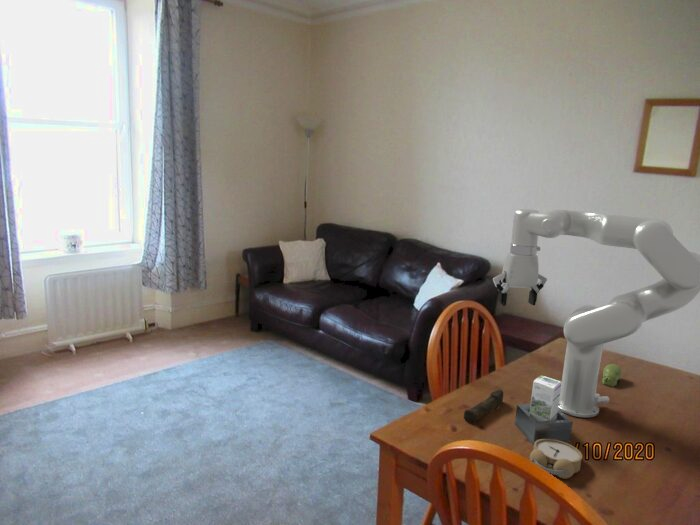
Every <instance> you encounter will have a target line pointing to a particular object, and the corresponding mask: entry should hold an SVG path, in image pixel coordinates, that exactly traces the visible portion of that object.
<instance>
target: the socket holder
mask: <svg viewBox="0 0 700 525" xmlns="http://www.w3.org/2000/svg"><path fill="white" fill-rule="evenodd" d="M530 406H531V403H522V404H516V410H515V411H516V412H515V420H514V425H515V426H516V427H517V429H518V430H520V432H521V433H522V434H523V435H524V436H525V438H526V439H527V440H528V441H529V442H530V443H531V444H532V445H533V446H534V443H535V441H537V440H539V439H555V440H559V441H563V442H565V443H568V444H571V438H572V437H571V436H572V431H573V430H572V429H573V423H574V422H573V421H572V419H570V418H569V417H568V416H567V414H565V413H564V412H562V411H560V410H559V409H558V412H557V420H555V421H537V420H536V419H535V418H534V417H533V416H532V415H531V414H530Z"/></svg>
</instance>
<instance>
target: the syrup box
mask: <svg viewBox="0 0 700 525" xmlns="http://www.w3.org/2000/svg"><path fill="white" fill-rule="evenodd" d="M561 384H562V380H558V379H554V378H551V377H548V376H545V375H542V374H541V375H539V376H537V377H536V378H535V379H534V380H533V381H532V390H531V391H532V392H531V398H530V399H531V400H530V404H531V406H530V414H531V415H532V416H533V417H534V418H535V419H536V420H537V421H555V420H557V412H558V405H559V398H560V391H561Z"/></svg>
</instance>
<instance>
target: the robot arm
mask: <svg viewBox="0 0 700 525" xmlns="http://www.w3.org/2000/svg"><path fill="white" fill-rule="evenodd" d="M561 235H562V236H563V235H564V236H571V237H580V238H585V239H587V240H588V239H589V240H592V241H594V242H596V243H597V244H599V245H602V246H608V247H617V248H627V249H633V250H637V251H638V252H639V253H640V254H641V255H642V257H643V258H644V259H645V260H646V261H647V263H649V264H650V265H651V266H652V268H653V269H654V270H655V271H657V273H658V274H659V275H660V276H661V277H662V279H661V280H659V281H657V282H655V283H652V284H650V285H649V284H648V285H647V286H645V287H643V288H639V289H636V290H633V291H629V292H627V293H622V294H619V295H616V296H615V297H613V298H611V300H610V301H609V302H608V303H607V304H604V305H602V306H600V307H597V306H595V305H591V304H587V305H581V306H579V307H578V308H576V309H575V310H574V311H573V312H572V313H571V314H570V316H569V317H568V318H567V319H566V321H565V323H564V325H563V336H564V338H565V339H566V341H567V342H566V349H565V356H564V362H563V370H562V376H561V377H562V378H561V382H562V384H561V391H560V398H559V405H558V409H559V410H560V411H561V412H562V413H563V414H565V415H569V416H572V417H578V418H585V419H586V418H594V417H596V416H598V415H599V414H600V413H599V412H600V408H599V406H598V405H600V404H608V403H610V398H609V396H606V395H604V396H603V395H602V396H601V394H600V393H597V389H598V388H597V387H598V381H599V372H600V369H601V368H600V367H601V366H600V365H601V360H602V354H603V349H604V344H607V343H610V342H613V341H617V340H620V339H623V338H627V337H629V336H631V335H634V334H635V333H636V332H637V331H638V330H639V329H640V328H641V327H642V325H643V323H645V322H647V321H650V320H653V319H656V318H660V317H662V316H664V315H668V314H670V313H672V312H675V311H677V310H679V309H682V308H684V307H685V306H686V305H688V304H690V303H691V302H692V301H693V300H694V299H695V298H696V297H697V295H698V294H699V293H700V254H698V253H696V252H692V251H689V250H688V249H687V248H686V247H685V246H684V245H683V244H682V243H681V242H680V240H678V239H677V237H676V236H675V235H674V231H673V229H672V226H671V225H670V224H669V223H668V222H667V221H664V220H663V219H658V218H648V217H640V216H639V217H638V216H628V215H627V216H626V215H616V214H607V213H594V212H589V211H588V212H586V211H578V210H577V211H576V210H568V209H555V210H551V211H547V212H539V211H538V210H537V209H536V210H535V209H530V208H519V209H516V210H515V211H514V214H513V219H512V231H511V238H510V239H511V240H510V241H511V242H510V247H509V249H510V250H509V253H508V252H507V253H506V257H505V258H504V262H503V267H502V271H501V273H499V274H498V275H496V276H494V277H493V278H492V281H493V284H494V287H495V288H496V289H497V291H498V292H499V294H498V302H499V304H500V305H502V306H503V307H505V306H506V305H507V301H508V300H507V299H508V293H507V292H508V290H509V289H510V288H529V289H530V290H529V293H528V304H530V305H532V306H536V302H537V299H538V294H539V293H540V291H541V290H542V289H543V288H544V286H545V284H546V282H547V281H548V279H547V277H545V276H543V275H541V274H540V273H539V256H538V254H537V252H539V251H541V246H538V241H539V240H538V239H539V237H542V238H547V239H554V238H558V237H559V236H561ZM538 280H539V282H538ZM500 281H501V283H502V284H501V283H500Z"/></svg>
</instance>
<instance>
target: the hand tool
mask: <svg viewBox="0 0 700 525" xmlns="http://www.w3.org/2000/svg"><path fill="white" fill-rule="evenodd" d="M503 399H504V391H503V390H502V389H496V391H492V392H491V393H490V394H489V396H488V397H487V398H486V399H485V400H483V401H481V402H479V403H478V404H476V405H474V406H472V407H471V408H470V409H465V411H463V412H464V413H463V419H464V421H465V422H466V423H469V424H471V425H475V424H476V423H477V422H478V421H479V420H480V419H481V418H482V417H484V416H485V415H487V414H489V413H490V412H491V411H493V410H497V408H498V407H499V408H500V407H501V405H502V403H503Z"/></svg>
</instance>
